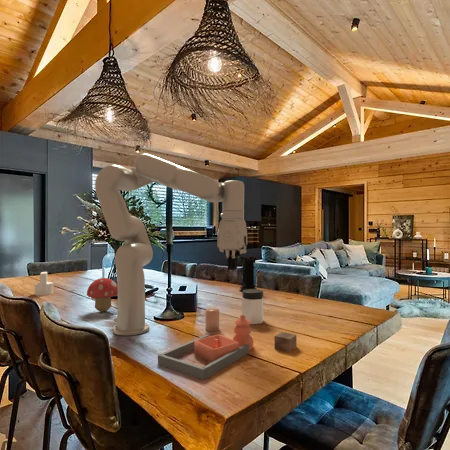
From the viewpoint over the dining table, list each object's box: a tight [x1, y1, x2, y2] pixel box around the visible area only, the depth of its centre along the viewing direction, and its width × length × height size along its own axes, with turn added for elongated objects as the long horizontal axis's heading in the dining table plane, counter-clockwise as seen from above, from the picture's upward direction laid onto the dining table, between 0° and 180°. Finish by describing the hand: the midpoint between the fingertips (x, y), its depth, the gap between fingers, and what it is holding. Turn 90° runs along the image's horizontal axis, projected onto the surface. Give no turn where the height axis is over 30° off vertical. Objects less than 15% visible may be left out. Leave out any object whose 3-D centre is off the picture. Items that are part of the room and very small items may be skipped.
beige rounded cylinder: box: [204, 307, 220, 332], centre depth 120 cm, size 5×5×7 cm
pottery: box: [193, 314, 254, 364], centre depth 98 cm, size 18×10×10 cm, turn 129°
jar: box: [241, 288, 264, 325], centre depth 130 cm, size 9×8×12 cm
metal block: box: [274, 331, 297, 353], centre depth 101 cm, size 5×5×4 cm
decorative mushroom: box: [86, 277, 118, 313], centre depth 146 cm, size 13×13×15 cm
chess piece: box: [239, 255, 257, 293], centre depth 190 cm, size 8×8×20 cm
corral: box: [157, 334, 250, 381], centre depth 93 cm, size 16×21×2 cm
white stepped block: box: [34, 271, 54, 296], centre depth 187 cm, size 9×9×12 cm
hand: (232, 269), depth 114 cm, fingers closed
